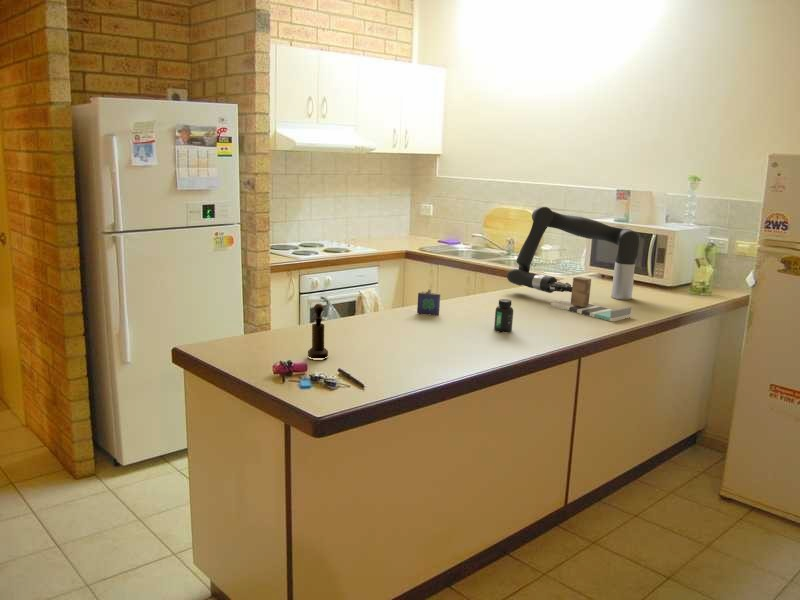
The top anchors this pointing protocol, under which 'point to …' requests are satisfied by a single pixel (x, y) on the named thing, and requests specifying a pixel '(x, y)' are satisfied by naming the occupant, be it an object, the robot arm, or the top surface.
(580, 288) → the slider block
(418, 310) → the flask
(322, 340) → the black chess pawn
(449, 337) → the top surface
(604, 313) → the track
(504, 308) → the supplement bottle
